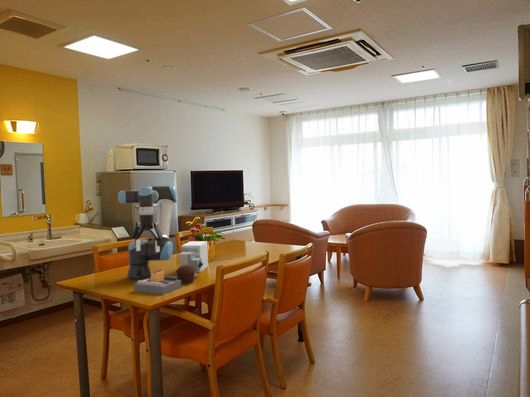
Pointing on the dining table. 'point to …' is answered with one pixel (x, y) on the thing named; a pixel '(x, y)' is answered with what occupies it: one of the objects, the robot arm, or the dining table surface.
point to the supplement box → (197, 251)
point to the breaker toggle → (157, 276)
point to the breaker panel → (156, 288)
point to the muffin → (185, 274)
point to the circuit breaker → (190, 260)
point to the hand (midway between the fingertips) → (147, 251)
